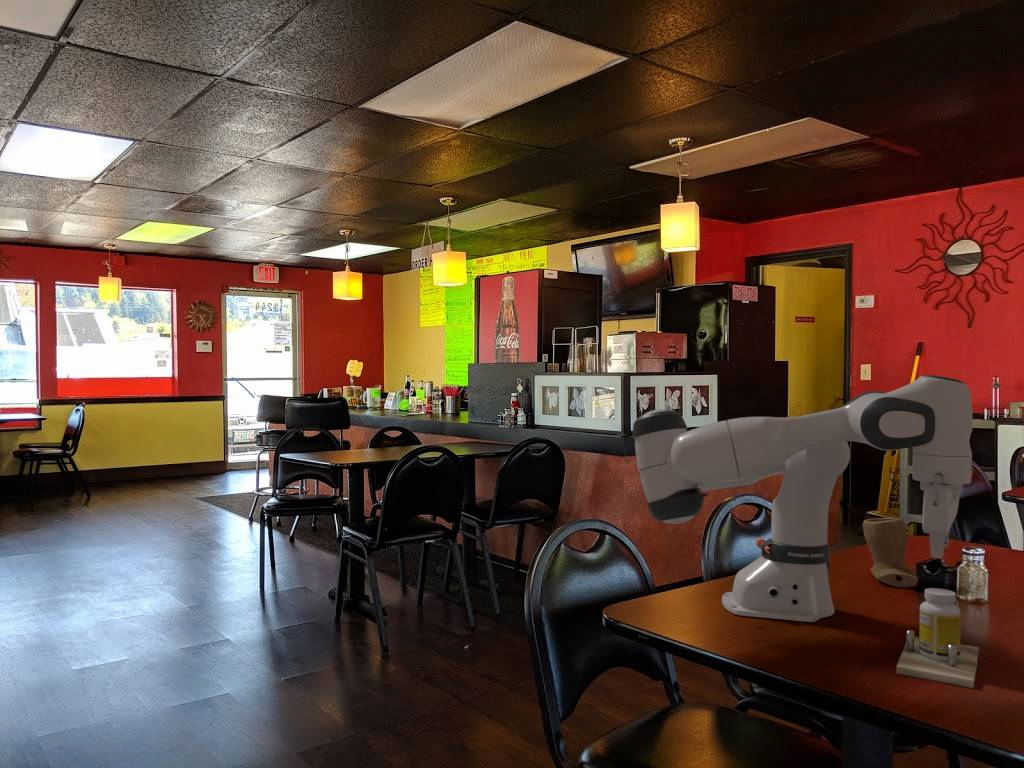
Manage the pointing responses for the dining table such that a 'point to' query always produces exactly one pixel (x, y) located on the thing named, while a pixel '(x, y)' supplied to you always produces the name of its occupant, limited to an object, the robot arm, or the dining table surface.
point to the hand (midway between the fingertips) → (939, 551)
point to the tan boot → (889, 551)
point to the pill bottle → (939, 624)
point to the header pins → (951, 648)
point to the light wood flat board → (940, 666)
